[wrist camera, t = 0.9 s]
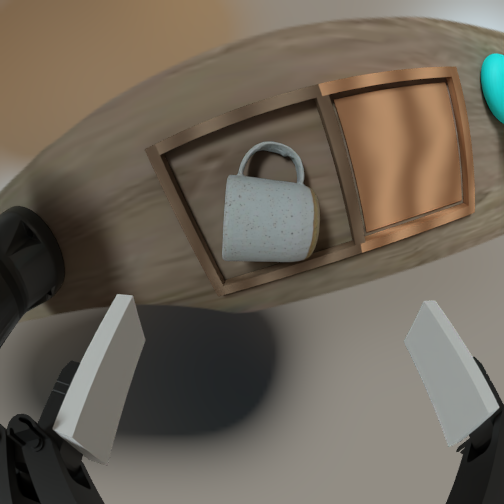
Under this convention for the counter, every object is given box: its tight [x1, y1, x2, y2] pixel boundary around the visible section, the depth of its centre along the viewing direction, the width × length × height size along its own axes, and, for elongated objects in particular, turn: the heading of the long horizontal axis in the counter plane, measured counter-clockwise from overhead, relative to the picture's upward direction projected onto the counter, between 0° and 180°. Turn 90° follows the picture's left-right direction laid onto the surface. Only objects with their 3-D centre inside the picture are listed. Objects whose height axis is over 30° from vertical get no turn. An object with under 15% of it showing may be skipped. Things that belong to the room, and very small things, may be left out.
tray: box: [145, 67, 475, 296], centre depth 26 cm, size 35×18×1 cm, turn 110°
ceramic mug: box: [222, 142, 320, 262], centre depth 24 cm, size 11×8×8 cm
